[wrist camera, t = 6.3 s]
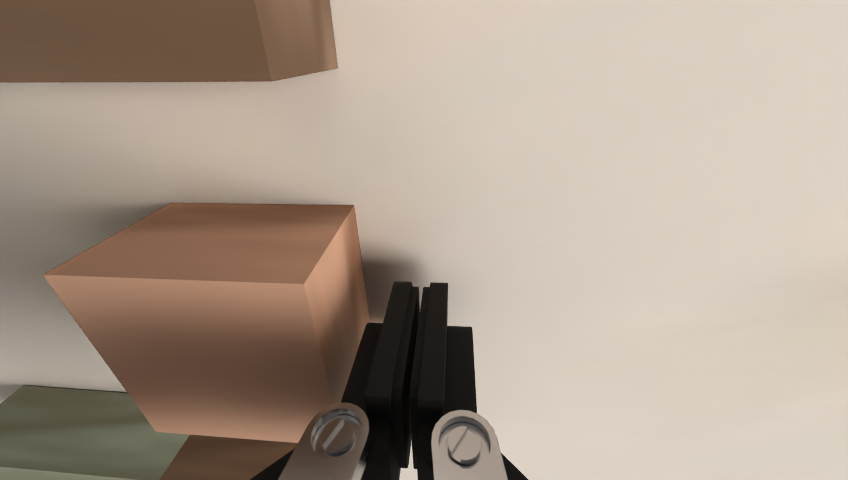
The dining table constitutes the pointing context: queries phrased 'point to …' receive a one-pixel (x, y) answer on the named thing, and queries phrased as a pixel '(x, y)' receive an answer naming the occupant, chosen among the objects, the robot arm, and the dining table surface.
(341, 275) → the terracotta block
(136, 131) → the dining table surface
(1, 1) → the walled channel
